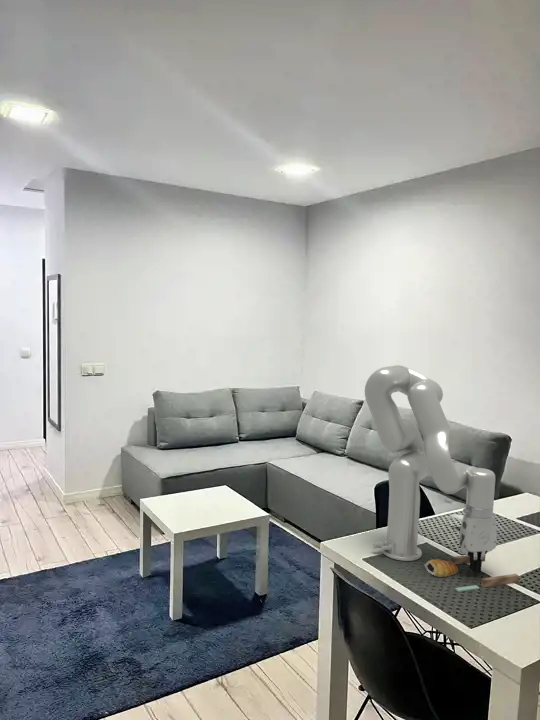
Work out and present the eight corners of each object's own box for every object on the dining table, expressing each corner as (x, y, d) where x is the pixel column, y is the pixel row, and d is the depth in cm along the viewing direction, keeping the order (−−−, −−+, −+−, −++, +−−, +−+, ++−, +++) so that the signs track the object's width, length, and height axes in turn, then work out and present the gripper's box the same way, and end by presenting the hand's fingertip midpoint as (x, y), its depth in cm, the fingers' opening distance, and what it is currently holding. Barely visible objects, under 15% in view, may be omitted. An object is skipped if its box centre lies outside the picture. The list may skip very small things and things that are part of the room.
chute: (483, 587, 159) (484, 580, 159) (450, 563, 174) (450, 557, 174) (518, 582, 163) (518, 575, 163) (482, 559, 178) (483, 553, 178)
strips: (458, 592, 156) (458, 590, 156) (424, 565, 172) (424, 564, 172) (479, 589, 158) (479, 587, 158) (443, 563, 174) (443, 562, 174)
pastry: (449, 566, 173) (450, 554, 172) (463, 576, 166) (464, 564, 166) (422, 569, 170) (423, 556, 169) (435, 579, 163) (436, 567, 163)
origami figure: (482, 530, 202) (483, 516, 202) (479, 538, 195) (480, 524, 195) (448, 523, 208) (449, 510, 208) (443, 530, 201) (444, 516, 200)
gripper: (465, 517, 160) (461, 579, 161) (509, 513, 164) (504, 574, 166) (449, 508, 167) (445, 568, 169) (491, 504, 172) (487, 563, 173)
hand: (475, 571), depth 167 cm, fingers closed
